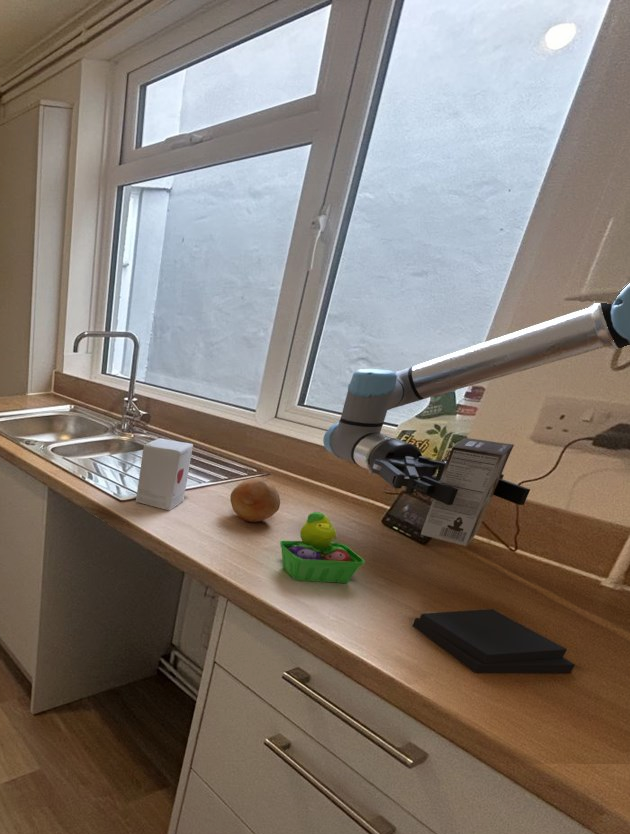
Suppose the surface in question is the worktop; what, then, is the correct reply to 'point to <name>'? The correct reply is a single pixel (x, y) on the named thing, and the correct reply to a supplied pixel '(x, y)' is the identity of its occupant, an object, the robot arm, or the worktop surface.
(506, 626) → the black game console
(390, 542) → the worktop surface
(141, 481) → the rectangular carton
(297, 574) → the fruit basket
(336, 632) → the worktop surface
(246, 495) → the onion
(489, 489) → the coffee box
